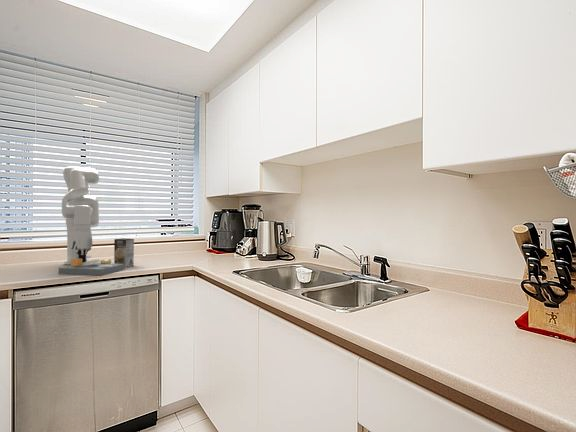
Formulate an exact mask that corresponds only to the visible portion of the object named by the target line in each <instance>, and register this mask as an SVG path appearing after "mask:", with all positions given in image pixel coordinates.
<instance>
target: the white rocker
mask: <svg viewBox="0 0 576 432" xmlns="http://www.w3.org/2000/svg"><path fill="white" fill-rule="evenodd" d="M91 263H101V260H100V259H97V258H96V259H92V260H88V261H87V262H85V264H91Z"/></svg>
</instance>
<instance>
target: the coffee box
mask: <svg viewBox="0 0 576 432" xmlns="http://www.w3.org/2000/svg"><path fill="white" fill-rule="evenodd" d="M113 250H114V253H113V255H114V257H113V258H114V260H113V261H114V263H113V264H125V268H127V266H128V267H132V266H131V265H133V266H134V261H135V259H134V258H135V256H134V255H135V253H134V252H135V238H124V237H123V238H114V249H113Z"/></svg>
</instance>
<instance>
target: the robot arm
mask: <svg viewBox="0 0 576 432" xmlns="http://www.w3.org/2000/svg"><path fill="white" fill-rule="evenodd" d="M62 176H63V179H64V181H65V184H66V187H67V192H66V193H65V195H64V196H63V197H62V200H61V215H62V217H63V218H65V224H66V225H65V226H66V235H67V236H66V239H67V241H66V242H67V243H66V245H67V247H66V248H67V249H66V253H67V255H66V261H64V262H63V264H64V265H71V259H75V258H78V259H82V264H83V263H85V262H87V261H89V260H88V259H91V258H92V255H91V254H88V252H90V251H91V250H92V248H93V235H92V228H97V227H98V226H99V223H100V222H99V221H100V214H99V213H100V212H99V210H100V209H99V200H98V198H97V197H96V196H93V195H88V193H89V185H88V184H90V185H96V184H98V183H99V182H100V175H99V172H98V170H96V168H93V167H83V166H82V167H81V166H66V167H64V168H63V171H62Z"/></svg>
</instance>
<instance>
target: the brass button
mask: <svg viewBox="0 0 576 432" xmlns="http://www.w3.org/2000/svg"><path fill="white" fill-rule="evenodd" d="M100 263H101V264H112V259H111V258H110V259H107V258H106V259H100Z"/></svg>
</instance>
